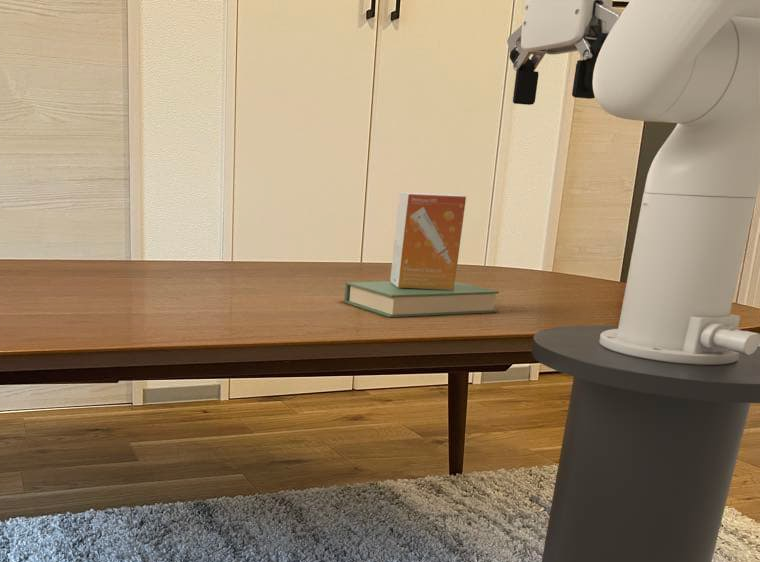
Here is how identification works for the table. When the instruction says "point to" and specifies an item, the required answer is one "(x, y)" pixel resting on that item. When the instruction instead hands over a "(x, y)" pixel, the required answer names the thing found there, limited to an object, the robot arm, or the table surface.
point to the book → (419, 299)
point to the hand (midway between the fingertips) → (552, 101)
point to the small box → (427, 240)
